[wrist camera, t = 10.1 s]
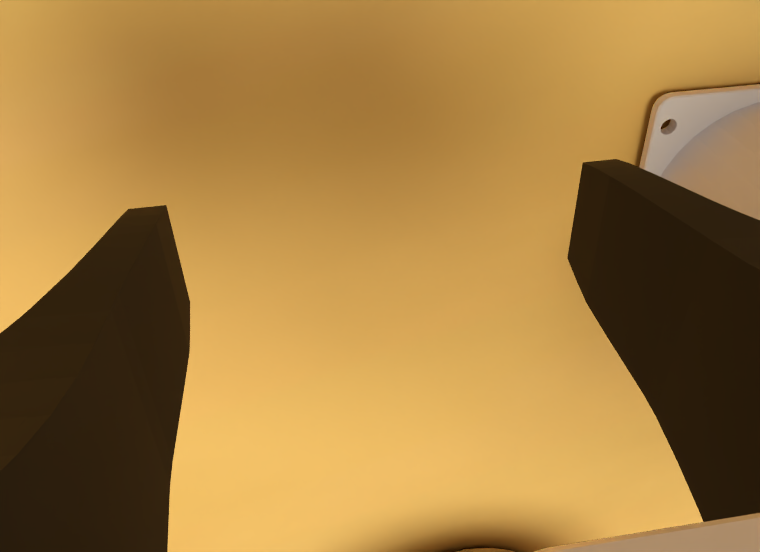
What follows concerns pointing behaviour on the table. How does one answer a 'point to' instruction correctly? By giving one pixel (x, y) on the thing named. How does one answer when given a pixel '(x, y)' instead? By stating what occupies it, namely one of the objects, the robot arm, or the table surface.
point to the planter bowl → (485, 550)
